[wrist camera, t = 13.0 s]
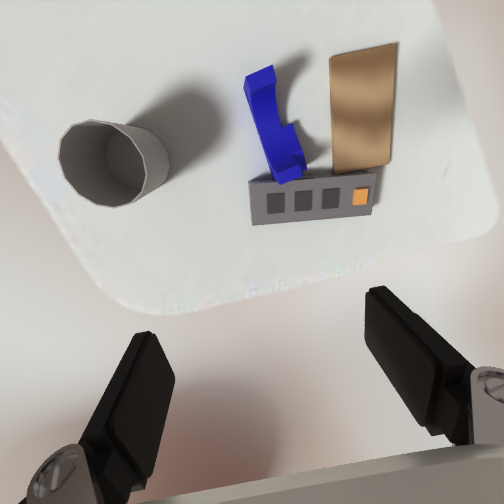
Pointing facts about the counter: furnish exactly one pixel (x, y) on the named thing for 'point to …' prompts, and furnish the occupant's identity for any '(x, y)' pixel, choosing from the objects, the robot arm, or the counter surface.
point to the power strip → (312, 198)
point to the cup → (112, 162)
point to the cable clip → (273, 128)
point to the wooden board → (361, 108)
